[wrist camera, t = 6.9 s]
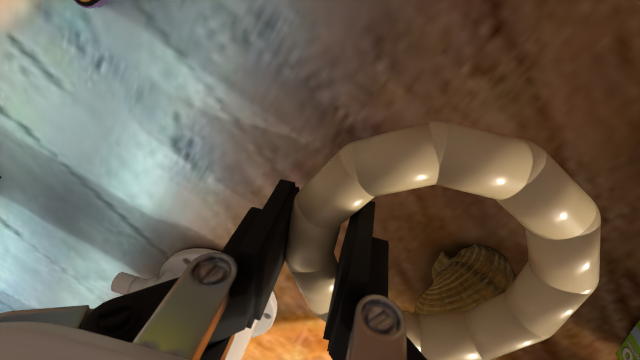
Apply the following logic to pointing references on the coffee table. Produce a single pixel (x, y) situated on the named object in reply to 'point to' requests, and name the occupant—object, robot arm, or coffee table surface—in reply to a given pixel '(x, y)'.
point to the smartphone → (91, 3)
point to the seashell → (466, 281)
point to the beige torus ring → (473, 177)
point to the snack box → (631, 345)
